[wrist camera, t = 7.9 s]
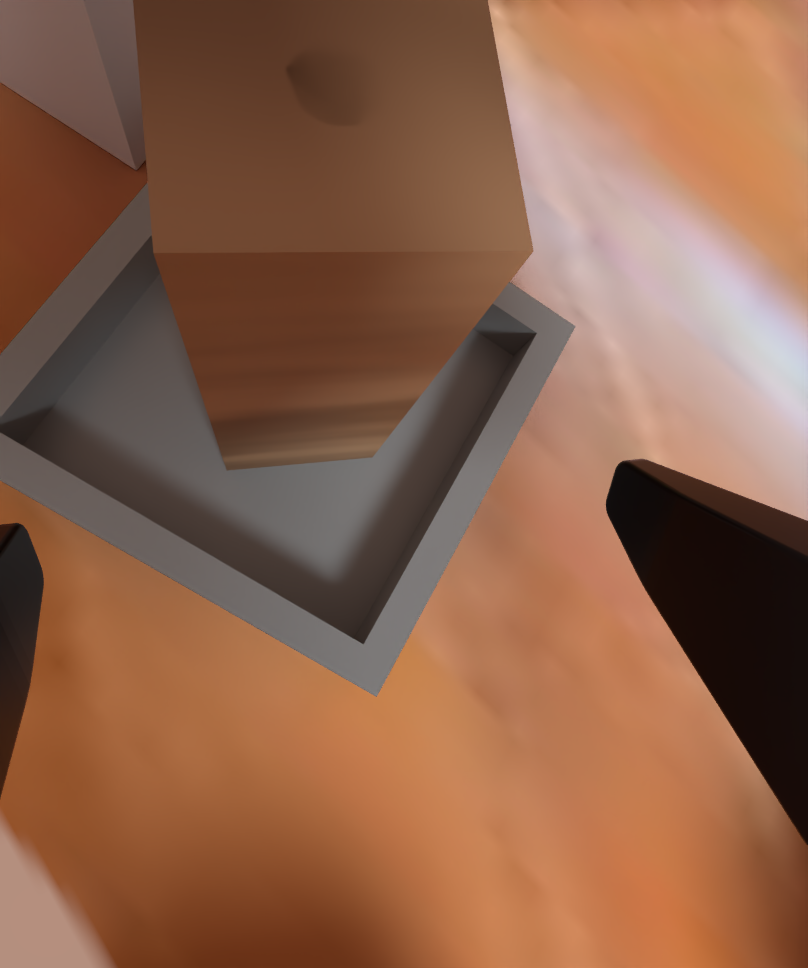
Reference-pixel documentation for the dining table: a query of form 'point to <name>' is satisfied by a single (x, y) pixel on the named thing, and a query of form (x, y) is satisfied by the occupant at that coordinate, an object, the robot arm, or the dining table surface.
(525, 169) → the dining table surface
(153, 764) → the dining table surface
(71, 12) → the grey soap dispenser
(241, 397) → the walnut block
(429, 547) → the tray
